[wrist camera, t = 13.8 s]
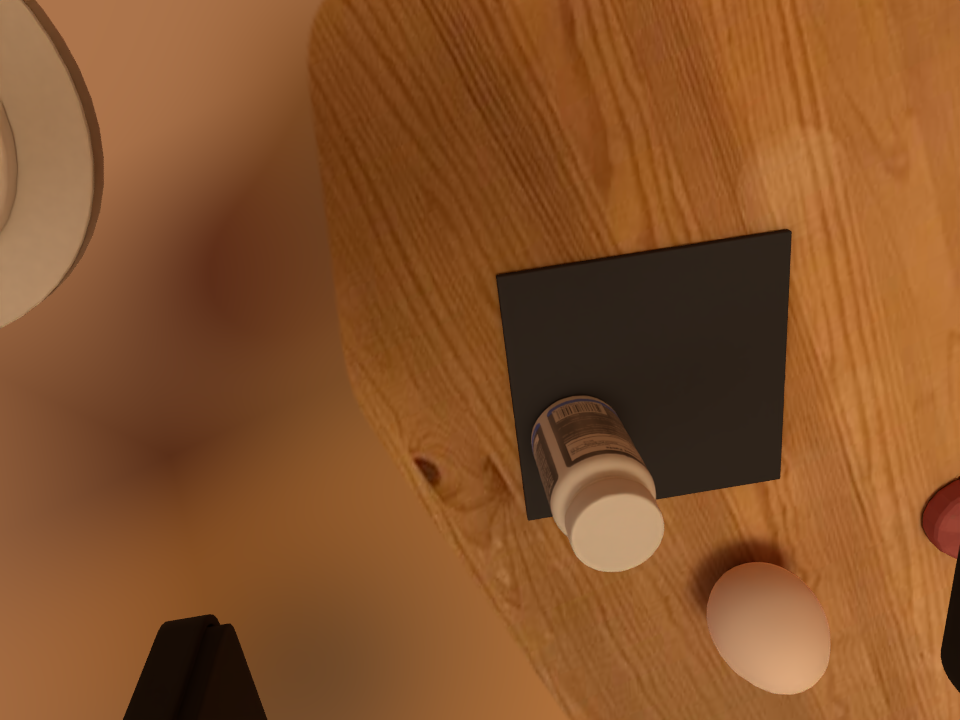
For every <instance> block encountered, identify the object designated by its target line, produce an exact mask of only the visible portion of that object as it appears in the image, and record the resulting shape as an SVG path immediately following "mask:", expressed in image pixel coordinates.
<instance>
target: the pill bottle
mask: <svg viewBox="0 0 960 720" xmlns="http://www.w3.org/2000/svg"><path fill="white" fill-rule="evenodd" d="M531 444H532V450H533V454H534V458H535V461H536V464H537V467H538V470H539V474H540V477H541V481H542V483H543V487H544V490H545V493H546V496H547V499H548V502H549V506H550V509H551V512H552V515H553V518H554V520H555V522H556V524H557V525H558V527H559V528H560V530H561V531H562V532H563V533H564V534H565V535H566V536H568V538H569V541H570V544H571V546H572V549H573V551H574V553H575V554H576V556H577V557H578V558H579V560H580V561H582V562H583V563H584V564H586V565H587V566H589V567H591V568H593V569H595V570H599V571H604V572H620V571H624V570H628V569H631V568H633V567H635V566H637V565H639V564H641V563H643V562H644V561H646V560H647V559H648V558H649V557H650V556H652V554H653V553H654V552H655V551H656V549H657V548H658V546H659V545H660V543H661V540H662V537H663V533H664V520H663V517H662V514H661V511H660V509H659V507H658V505H657V503H656V490H655V485H654V481H653V478H652V476H651V474H650V472H649V470H648V469H647V467H646V466H645V464H644V462H643V460H642V458H641V457H640V455H639V453H638V451H637V450H636V448H635V446H634V444H633V442H632V440H631V438H630V436H629V435H628V433H627V431H626V430H625V428H624V426H623V424H622V423H621V421H620V419H619V417H618V415H617V414H616V412H615V411H614V410H613V409H612V408H611V407H610V406H609V405H608V404H606V403H605V402H603V401H601V400H599V399H597V398H594V397H590V396H571V397H567V398H564V399H561V400H559V401H557V402H555V403H554V404H552V405H551V406H549V407H548V408H547V409H546V410H545V411H544V412H543V413H542V414H541V415H540V417H539V418H538V419H537V421H536V423H535V425H534V427H533V430H532V436H531Z"/></svg>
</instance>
